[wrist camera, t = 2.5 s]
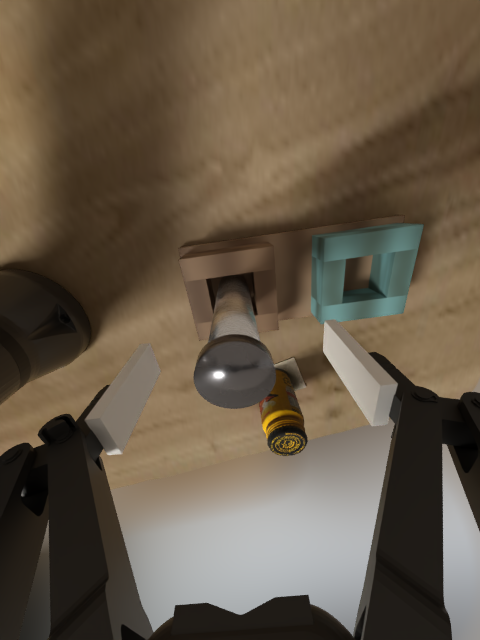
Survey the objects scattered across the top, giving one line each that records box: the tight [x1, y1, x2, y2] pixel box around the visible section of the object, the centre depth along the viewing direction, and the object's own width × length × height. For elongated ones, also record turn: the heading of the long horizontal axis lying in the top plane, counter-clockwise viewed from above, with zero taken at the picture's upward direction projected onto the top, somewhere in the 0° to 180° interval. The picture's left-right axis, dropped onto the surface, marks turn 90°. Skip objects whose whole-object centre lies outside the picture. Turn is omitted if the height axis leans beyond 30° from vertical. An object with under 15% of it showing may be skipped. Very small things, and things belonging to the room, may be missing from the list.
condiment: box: [259, 358, 307, 456], centre depth 33 cm, size 7×8×12 cm
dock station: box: [178, 215, 424, 341], centre depth 28 cm, size 28×12×5 cm, turn 98°
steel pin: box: [194, 274, 276, 409], centre depth 21 cm, size 5×5×18 cm
